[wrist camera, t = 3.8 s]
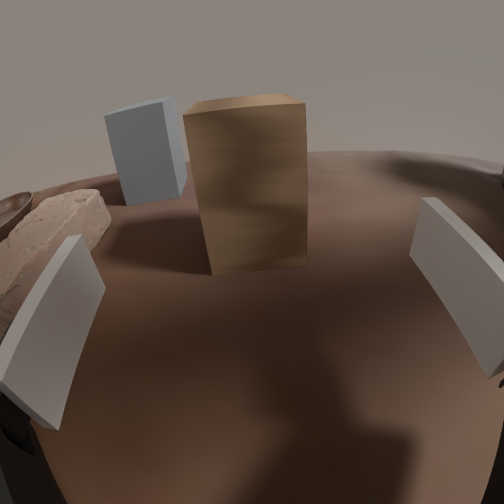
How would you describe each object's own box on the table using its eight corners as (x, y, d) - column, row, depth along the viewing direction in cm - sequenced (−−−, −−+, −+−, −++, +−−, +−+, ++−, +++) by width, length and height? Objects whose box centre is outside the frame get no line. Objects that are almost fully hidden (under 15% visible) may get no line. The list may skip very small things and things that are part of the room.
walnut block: (290, 219, 24) (285, 93, 18) (306, 265, 19) (305, 103, 13) (215, 227, 24) (196, 102, 18) (212, 275, 19) (182, 115, 13)
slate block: (187, 176, 34) (173, 95, 29) (180, 197, 30) (162, 101, 24) (141, 184, 34) (124, 107, 29) (126, 205, 30) (104, 115, 24)
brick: (57, 230, 28) (43, 192, 25) (117, 223, 27) (103, 179, 24) (-27, 342, 14) (-59, 299, 12) (31, 360, 14) (-10, 307, 11)
